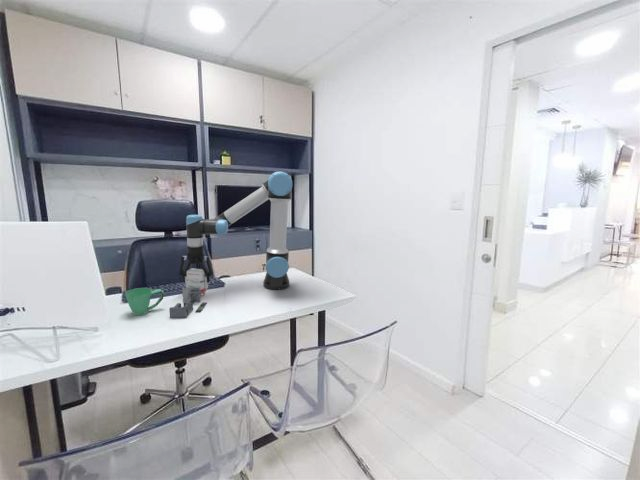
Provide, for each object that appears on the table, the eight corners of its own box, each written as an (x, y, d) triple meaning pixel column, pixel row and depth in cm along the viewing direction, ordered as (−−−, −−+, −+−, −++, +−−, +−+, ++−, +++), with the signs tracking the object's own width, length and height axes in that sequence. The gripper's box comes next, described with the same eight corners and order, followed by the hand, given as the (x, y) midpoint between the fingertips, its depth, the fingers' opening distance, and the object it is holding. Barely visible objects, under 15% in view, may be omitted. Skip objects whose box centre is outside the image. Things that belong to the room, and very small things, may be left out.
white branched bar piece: (206, 300, 147) (206, 287, 146) (201, 307, 139) (201, 293, 138) (183, 300, 146) (183, 287, 145) (177, 307, 138) (176, 293, 137)
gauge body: (207, 302, 145) (207, 294, 145) (196, 318, 129) (196, 308, 128) (183, 302, 144) (183, 294, 144) (169, 318, 128) (169, 308, 127)
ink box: (207, 290, 156) (206, 268, 154) (202, 294, 151) (202, 271, 149) (191, 289, 157) (190, 267, 155) (186, 292, 152) (185, 270, 150)
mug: (128, 319, 125) (126, 297, 123) (126, 311, 133) (124, 290, 131) (166, 312, 134) (165, 291, 132) (162, 304, 142) (161, 284, 140)
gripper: (219, 244, 154) (220, 285, 158) (175, 243, 152) (178, 285, 156) (215, 247, 147) (216, 290, 151) (169, 246, 145) (172, 290, 149)
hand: (197, 288), depth 154 cm, fingers closed on ink box, 9 cm apart
